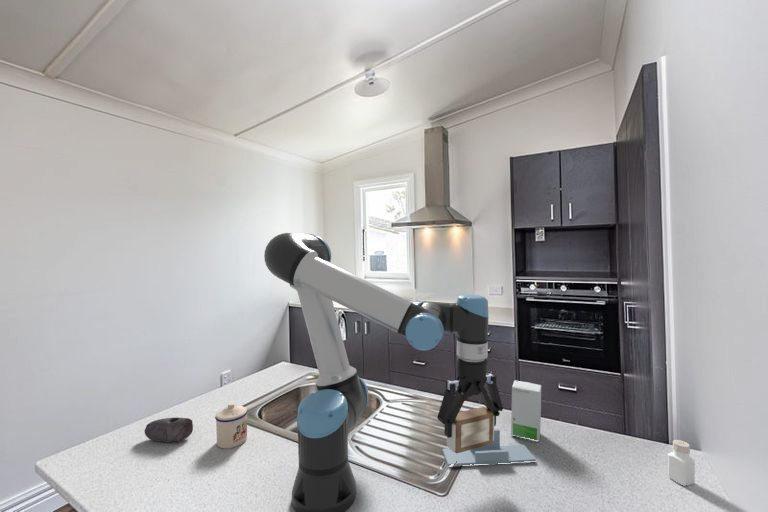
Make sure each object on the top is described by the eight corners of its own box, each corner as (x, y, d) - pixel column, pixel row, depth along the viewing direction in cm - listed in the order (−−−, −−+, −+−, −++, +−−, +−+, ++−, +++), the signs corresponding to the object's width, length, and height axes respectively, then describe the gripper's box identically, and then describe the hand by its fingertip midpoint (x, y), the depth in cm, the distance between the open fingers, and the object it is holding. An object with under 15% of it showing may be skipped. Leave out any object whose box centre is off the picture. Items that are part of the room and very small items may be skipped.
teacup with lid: (237, 450, 104) (236, 411, 103) (209, 448, 105) (208, 410, 105) (257, 429, 116) (257, 394, 115) (232, 427, 117) (231, 393, 117)
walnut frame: (456, 453, 85) (457, 421, 85) (448, 445, 88) (448, 414, 88) (493, 443, 89) (493, 412, 89) (483, 436, 93) (484, 406, 92)
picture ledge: (448, 467, 94) (448, 445, 94) (442, 452, 101) (442, 431, 101) (535, 462, 95) (535, 441, 95) (524, 448, 102) (523, 427, 102)
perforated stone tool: (139, 443, 109) (138, 421, 108) (152, 434, 114) (151, 413, 114) (183, 446, 107) (183, 423, 106) (195, 436, 112) (194, 415, 112)
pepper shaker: (684, 487, 85) (684, 449, 85) (666, 477, 89) (666, 440, 88) (695, 484, 86) (696, 446, 86) (678, 474, 90) (678, 437, 89)
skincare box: (510, 436, 109) (510, 386, 108) (513, 426, 114) (513, 379, 114) (540, 443, 105) (540, 391, 104) (541, 432, 111) (541, 383, 110)
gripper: (440, 368, 80) (438, 463, 81) (519, 356, 89) (517, 441, 90) (423, 358, 87) (422, 445, 87) (498, 348, 96) (497, 427, 97)
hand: (470, 443), depth 89 cm, fingers closed on walnut frame, 11 cm apart
